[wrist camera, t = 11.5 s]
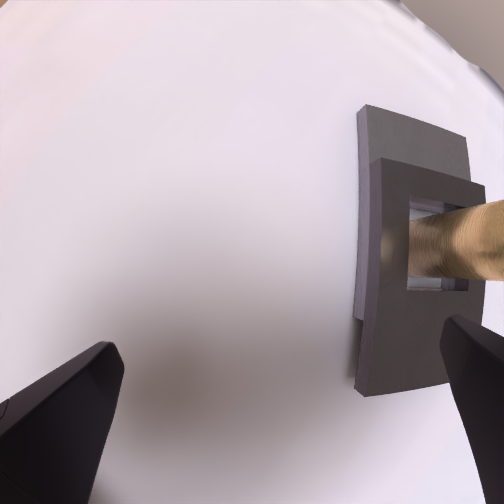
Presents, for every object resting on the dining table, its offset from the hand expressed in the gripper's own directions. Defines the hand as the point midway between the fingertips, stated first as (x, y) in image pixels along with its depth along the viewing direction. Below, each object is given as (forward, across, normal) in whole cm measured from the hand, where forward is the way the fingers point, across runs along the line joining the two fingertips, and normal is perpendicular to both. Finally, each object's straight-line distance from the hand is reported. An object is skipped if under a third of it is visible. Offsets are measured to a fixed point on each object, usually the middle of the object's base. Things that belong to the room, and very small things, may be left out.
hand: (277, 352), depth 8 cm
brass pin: (+13, -10, +4) cm, 17 cm away
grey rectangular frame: (+13, -10, +4) cm, 17 cm away
